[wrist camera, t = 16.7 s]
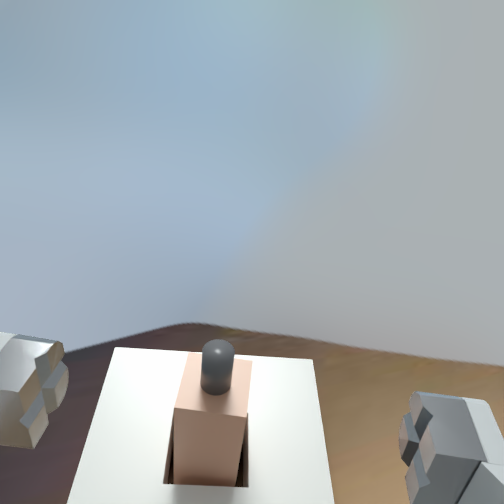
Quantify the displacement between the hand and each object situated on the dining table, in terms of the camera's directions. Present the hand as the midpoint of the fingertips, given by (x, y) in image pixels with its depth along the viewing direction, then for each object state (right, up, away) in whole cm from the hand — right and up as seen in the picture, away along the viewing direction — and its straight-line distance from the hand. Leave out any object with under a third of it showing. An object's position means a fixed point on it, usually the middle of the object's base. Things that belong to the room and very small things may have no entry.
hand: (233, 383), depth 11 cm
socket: (-3, -15, +26) cm, 30 cm away
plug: (-3, -15, +26) cm, 30 cm away
